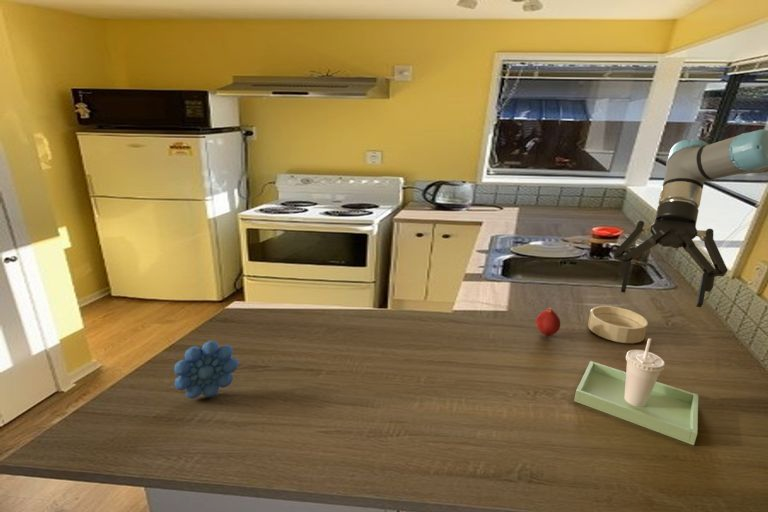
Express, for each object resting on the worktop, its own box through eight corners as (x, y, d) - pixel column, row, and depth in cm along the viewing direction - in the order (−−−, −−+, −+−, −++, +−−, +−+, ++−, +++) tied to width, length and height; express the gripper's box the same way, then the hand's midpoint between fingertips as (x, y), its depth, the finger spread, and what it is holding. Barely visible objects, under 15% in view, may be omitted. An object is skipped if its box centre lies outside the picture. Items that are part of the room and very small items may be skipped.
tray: (695, 405, 84) (698, 394, 83) (693, 445, 73) (697, 433, 72) (588, 370, 94) (590, 360, 94) (573, 401, 84) (576, 390, 83)
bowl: (646, 330, 114) (650, 314, 112) (640, 350, 103) (644, 333, 102) (593, 316, 121) (596, 301, 120) (583, 333, 111) (585, 318, 109)
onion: (538, 328, 113) (542, 301, 110) (560, 335, 110) (565, 307, 107) (531, 337, 108) (535, 308, 106) (554, 344, 105) (559, 314, 103)
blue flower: (241, 379, 88) (237, 327, 84) (240, 399, 82) (235, 344, 78) (180, 388, 85) (172, 334, 81) (174, 409, 79) (166, 352, 75)
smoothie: (612, 400, 84) (627, 337, 79) (621, 386, 88) (635, 326, 84) (649, 416, 79) (666, 350, 75) (657, 400, 84) (673, 337, 80)
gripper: (746, 221, 90) (731, 316, 85) (614, 208, 103) (595, 289, 99) (755, 205, 84) (739, 307, 79) (614, 193, 97) (594, 280, 92)
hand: (659, 297), depth 89 cm, fingers open, 13 cm apart
